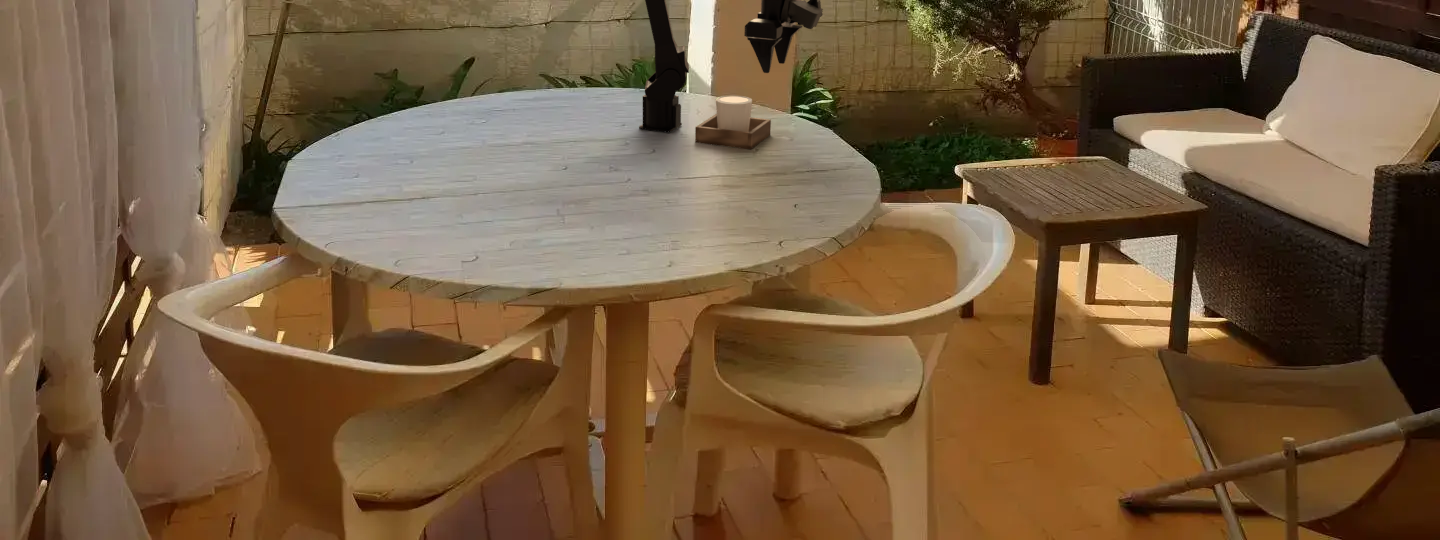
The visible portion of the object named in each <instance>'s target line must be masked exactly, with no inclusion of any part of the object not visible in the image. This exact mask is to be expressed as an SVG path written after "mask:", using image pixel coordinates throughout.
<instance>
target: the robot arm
mask: <svg viewBox="0 0 1440 540" xmlns="http://www.w3.org/2000/svg"><path fill="white" fill-rule="evenodd" d="M644 2H645V5H646V10H647V15H648V16H647V17H648V21H649V24H650V25H649V26H650V28H651V29H650V30H651V34H652V38H653V43H654V66H655V67H654V69H655V72H653V74H652V75H651V76H650V77H649V78H647V80H646V82H645V87H644V88H645V89H644V93H645V94H643V95H642V124H640V125H639V126H638V129H639V130H644V131H653V132H662V133H671V132H673V131H675V130H676V129H678V128H680V127H682V126H683V125H682V124H683V123H682V105H681V103H680V102H679V101H680V100H679V99H680V98H679V97H680V96H679V95H676V92H678V91H680V90H681V89H682V88H683V87H684V85H685V84H686V80H687V74H689V73H690V64H689V62H688V60H687V58H686V45H681V46H678V44H677V42H676V40H675V38H674V34H673V29H672V24H671V19H670V15H669V10H668V6H667V5H668V4H667V1H666V0H644ZM821 3H822V2H821V0H808V1H806V0H760V6H761V7H760V11H759V12H757V18H753V19H752V20H749V21H748V22H747V23H746V24H745V25H744V37H746V40H747V41H749V43H750V45H751V47H752V49H753V52H754V54H755V56H756V59H757V60H758V63H759V65H760V67H761V70H762V73H764V74H770V71H771V67H772V61H773V56H774V51H775V54H776V55H775V56H776V58H777V61H778V63H779V64H780V65H781V64H782V65H783V64H785V63H786V61H787V57H788V53H789V49H790V47H791V43H792V40H793V37H794V35H795V34H796V33H797V32H799V30H801V29H802V28H803V27H804V28H805V29H809V30H812V29H814V28H815V27H817V26H818V23H819V21H820V19H821V17H823V10H824V9H823V8H822V6H821V5H822V4H821Z"/></svg>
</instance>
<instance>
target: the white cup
mask: <svg viewBox="0 0 1440 540" xmlns="http://www.w3.org/2000/svg"><path fill="white" fill-rule="evenodd" d="M752 106H753V99H752V98H751V97H748V96H745V95H744V96H743V95H721V96H718V97H717V98H715V108H716V109H715V110H716V114H717V124H718V129H726V130H735V131H743V132H749V125H750V117H751V115H752V108H753V107H752Z"/></svg>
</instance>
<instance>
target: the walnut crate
mask: <svg viewBox="0 0 1440 540" xmlns="http://www.w3.org/2000/svg"><path fill="white" fill-rule="evenodd" d="M771 125H772V119H767V118H759V117H750V125H749V132H743V131H735V130H726V129H718V124H717V113H715V114H713V115H711V116H710V117H709V118H707V119H706V120H704V121H703V122H700V123H699V124H698V125H696V126H695V128H694V129H695V131H694V132H695V133H694V135H695V138H694V139H695V140H694V143H696V144H702V145H711V144H712V145H713V146H719V147H727V148H729V147H730V148H736V149H746V150H753V149H754V148H755V147H757V146H758V145H760V144H761V143H762V142H763V141H764V140H766V139H767V138H768V137H770V136H771V127H772V126H771Z"/></svg>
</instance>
